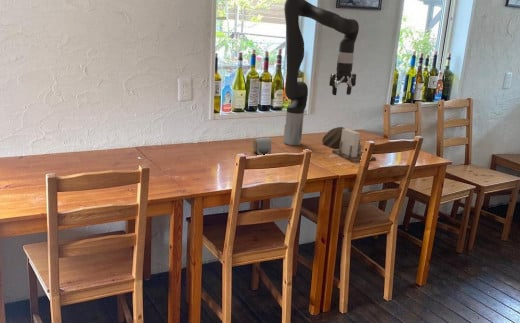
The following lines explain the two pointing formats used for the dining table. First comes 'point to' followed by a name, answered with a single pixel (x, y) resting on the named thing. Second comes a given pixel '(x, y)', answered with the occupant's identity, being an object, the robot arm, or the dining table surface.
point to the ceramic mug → (262, 145)
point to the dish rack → (348, 157)
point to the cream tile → (349, 141)
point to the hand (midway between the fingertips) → (341, 94)
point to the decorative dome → (333, 138)
